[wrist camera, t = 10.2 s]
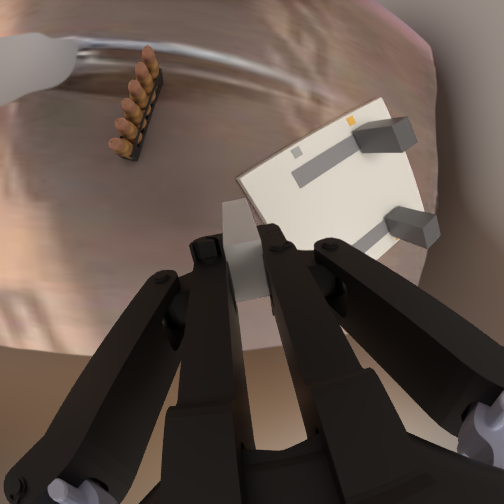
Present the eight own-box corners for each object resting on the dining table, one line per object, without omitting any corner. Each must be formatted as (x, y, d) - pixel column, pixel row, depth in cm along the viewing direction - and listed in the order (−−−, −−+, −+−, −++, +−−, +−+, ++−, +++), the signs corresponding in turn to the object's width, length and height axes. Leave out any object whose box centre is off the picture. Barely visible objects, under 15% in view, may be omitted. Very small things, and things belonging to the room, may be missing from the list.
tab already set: (391, 235, 40) (427, 249, 33) (384, 217, 39) (422, 228, 31) (404, 223, 40) (440, 235, 33) (398, 205, 39) (436, 214, 32)
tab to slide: (362, 153, 35) (402, 152, 28) (352, 131, 34) (391, 126, 26) (378, 143, 35) (417, 141, 28) (368, 121, 34) (407, 116, 26)
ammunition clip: (149, 78, 27) (141, 36, 16) (163, 81, 28) (160, 39, 17) (123, 158, 29) (97, 151, 18) (137, 161, 30) (118, 155, 19)
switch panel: (311, 302, 42) (318, 308, 40) (235, 178, 34) (239, 178, 32) (417, 213, 44) (426, 215, 42) (373, 99, 36) (382, 97, 34)
